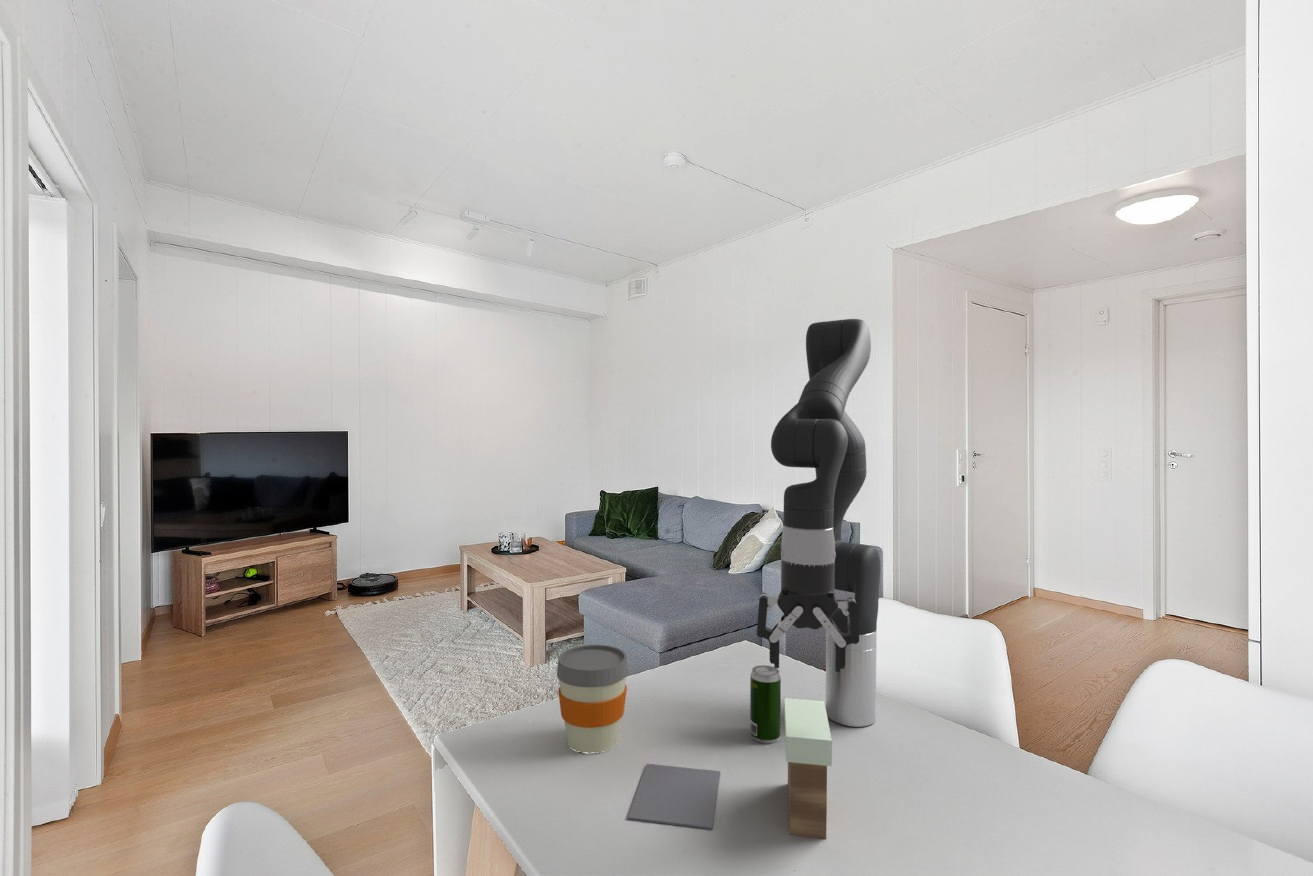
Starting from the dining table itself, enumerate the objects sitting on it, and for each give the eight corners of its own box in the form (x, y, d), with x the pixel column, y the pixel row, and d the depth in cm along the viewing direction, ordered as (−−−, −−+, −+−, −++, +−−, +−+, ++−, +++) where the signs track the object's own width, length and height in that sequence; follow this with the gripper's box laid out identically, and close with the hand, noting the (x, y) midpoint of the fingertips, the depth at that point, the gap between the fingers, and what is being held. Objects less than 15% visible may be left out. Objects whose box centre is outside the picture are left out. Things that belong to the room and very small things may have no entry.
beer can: (764, 747, 107) (764, 679, 107) (743, 734, 112) (744, 668, 111) (786, 739, 110) (787, 672, 110) (765, 726, 115) (766, 662, 114)
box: (787, 783, 97) (788, 720, 96) (819, 787, 96) (820, 723, 95) (790, 834, 85) (790, 762, 84) (826, 838, 84) (827, 765, 84)
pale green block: (784, 720, 96) (784, 698, 96) (824, 723, 95) (824, 701, 95) (786, 761, 85) (786, 736, 84) (831, 766, 83) (831, 740, 83)
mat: (647, 765, 102) (647, 763, 102) (720, 773, 99) (720, 771, 99) (627, 819, 88) (627, 817, 88) (712, 829, 86) (712, 827, 86)
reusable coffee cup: (543, 751, 106) (542, 664, 106) (579, 718, 118) (578, 640, 117) (608, 766, 101) (608, 675, 101) (639, 731, 113) (639, 649, 113)
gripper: (855, 554, 92) (854, 662, 92) (758, 550, 94) (757, 655, 95) (863, 565, 84) (861, 683, 85) (757, 560, 87) (756, 674, 87)
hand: (806, 668), depth 90 cm, fingers open, 8 cm apart
